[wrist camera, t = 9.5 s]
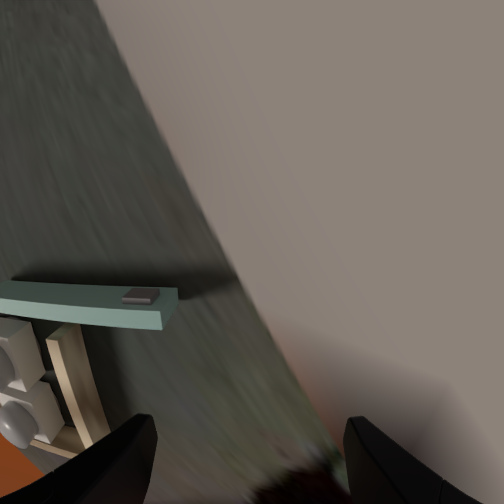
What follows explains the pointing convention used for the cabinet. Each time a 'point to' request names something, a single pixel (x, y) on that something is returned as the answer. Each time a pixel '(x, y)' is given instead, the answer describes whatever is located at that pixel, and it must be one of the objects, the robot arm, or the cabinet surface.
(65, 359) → the housing
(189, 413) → the cabinet surface
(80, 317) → the panel
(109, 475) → the robot arm
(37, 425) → the jaw
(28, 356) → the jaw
